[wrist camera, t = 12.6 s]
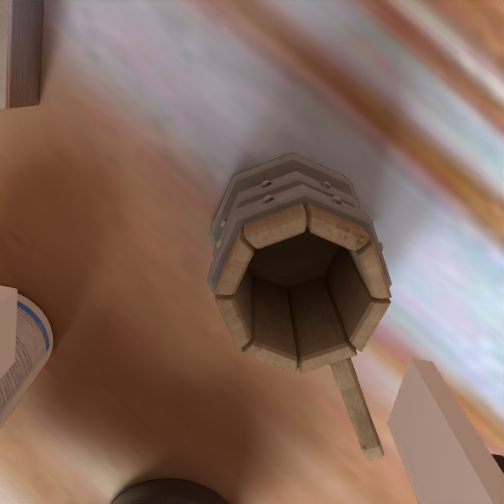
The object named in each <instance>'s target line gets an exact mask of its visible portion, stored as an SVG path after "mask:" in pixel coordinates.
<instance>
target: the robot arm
mask: <svg viewBox="0 0 504 504" xmlns="http://www.w3.org/2000/svg"><path fill="white" fill-rule="evenodd" d="M17 291H18V289H16V288H10V287H5V286H0V379H1V378H2V377H3V375H4V374H5V373H6V372H7V371H8V369H9V368H10V367H11V366H12V365H13V363H14V362H15V347H16V319H17ZM387 424H388V427H389V429H390V432H391V434H392V437H393V439H394V442H395V444H396V447H397V450H398V452H399V455H400V457H401V460H402V462H403V465H404V467H405V470H406V473H407V475H408V478H409V480H410V483H411V485H412V488H413V490H414V493H415V496H416V498H417V501H418V503H419V504H504V457H503V456H501V455H495V454H491V453H490V452H489V450H488V448H487V447H486V445H485V444H484V442H483V440H482V439H481V437H480V436H479V434H478V433H477V431H476V429H475V428H474V426H473V425H472V423H471V422H470V420H469V418H468V417H467V415H466V414H465V412H464V411H463V409H462V407H461V406H460V404H459V403H458V401H457V400H456V398H455V396H454V395H453V393H452V392H451V390H450V389H449V387H448V385H447V384H446V382H445V381H444V379H443V378H442V376H441V374H440V373H439V371H438V370H437V368H436V366H435V365H434V363H433V362H432V361H426V360H421V359H415V358H410V361H409V364H408V367H407V370H406V372H405V375H404V378H403V381H402V384H401V386H400V389H399V392H398V395H397V398H396V400H395V403H394V406H393V409H392V412H391V414H390V417H389V420H388V423H387ZM112 504H227V503H226V502H225V501H224V500H223V499H222V498H221V497H219V496H218V495H217V494H215V493H214V492H212V491H211V490H209V489H207V488H205V487H203V486H200V485H198V484H195V483H191V482H187V481H182V480H172V479H163V480H153V481H148V482H144V483H141V484H138V485H136V486H134V487H131V488H130V489H128V490H126V491H125V492H123V493H122V494H121V495H119V496H118V497H117V498H116V499H115V500H114V501H113V503H112Z"/></svg>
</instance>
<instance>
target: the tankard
mask: <svg viewBox="0 0 504 504" xmlns="http://www.w3.org/2000/svg"><path fill="white" fill-rule="evenodd" d="M209 236H210V238H211V241H212V243H213V245H214V252H213V256H214V260H213V262H212V265H211V267H210V270H209V274H208V278H207V281H208V283H209V285H210V287H211V290H212V292H213V294H214V296H215V300H216V302H217V306H218V307H219V309H220V311H221V313H222V316H223V318H224V320H225V322H226V324H227V327H228V329H229V331H230V333H231V335H232V337H233V340H234V342H235V344H236V346H237V348H238V349H240V348H242V353H244V354H247V355H249V356H252V357H254V358H257V359H260V360H262V361H265V362H268V363H270V364H273V365H275V366H278V367H281V368H283V369H286V370H288V371H291V372H294V373H296V371H297V368H298V367H299V370H300V372H301V373H304V372H307V371H310V370H313V369H316V368H319V367H322V366H325V365H328V364H330V366H331V368H332V371H333V374H334V376H335V379H336V381H337V384H338V386H339V389H340V391H341V394H342V397H343V400H344V402H345V405H346V408H347V411H348V413H349V416H350V419H351V422H352V424H353V427H354V430H355V433H356V435H357V438H358V441H359V444H360V447H361V449H362V451H363V453H364V455H365V457H366V459H368V460H370V461H371V460H374V459H377V458H381V457H383V455H384V451H383V448H382V445H381V442H380V440H379V437H378V434H377V432H376V429H375V427H374V424H373V421H372V418H371V416H370V413H369V410H368V407H367V405H366V402H365V399H364V396H363V393H362V390H361V387H360V384H359V381H358V378H357V375H356V372H355V369H354V366H353V363H352V361H351V358H350V357H353V356H356V355H357V352H356V349H358V350H359V351H361V352H362V350H363V348H364V347H365V345H366V343H367V342H368V340H369V338H370V337H371V335H372V333H373V332H374V330H375V328H376V327H377V325H378V323H379V322H380V320H381V318H382V317H383V315H384V313H385V312H386V310H387V308H388V307H389V305H390V303H391V301H390V300H389V298H391V297H392V296H391V293H390V290H389V288H390V286H391V284H392V283H391V280H390V277H389V274H388V270H387V267H386V264H385V261H384V258H383V255H382V250H383V245H382V243H380V242H378V239H377V236H376V232H375V229H374V226H373V223H372V220H371V219H370V218H369V217H368V215H367V214H366V213H365V212H363V211H361V210H360V207H359V204H358V201H357V198H356V195H355V192H354V189H353V186H352V183H351V181H350V180H349V178H347V177H345V176H342V175H340V174H338V173H336V172H334V171H331V170H329V169H327V168H325V167H322V166H320V165H318V164H316V163H314V162H311V161H309V160H307V159H305V158H302V157H300V156H298V155H296V154H294V153H290V154H288V155H285V156H282V157H280V158H277V159H275V160H272V161H270V162H267V163H264V164H262V165H259V166H257V167H254V168H251V169H249V170H246V171H244V172H241V173H239V174H236V175H233V178H232V180H231V182H230V185H229V187H228V189H227V192H226V194H225V196H224V199H223V201H222V203H221V206H220V208H219V210H218V213H217V215H216V217H215V220H214V222H213V224H212V226H211V229H210V232H209Z"/></svg>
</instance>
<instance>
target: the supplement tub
mask: <svg viewBox="0 0 504 504" xmlns="http://www.w3.org/2000/svg"><path fill="white" fill-rule="evenodd" d="M52 347H53V335H52V330H51V327H50V324H49V322H48V320H47V318H46V316H45V315H44V313H43V312H42V311H41V309H40V308H39V307H38V306H37V305H36V304H34V303H33V302H32V301H30V300H29V299H27V298H26V297H24V296H22V295H20V294H17V319H16V347H15V362H14V363H13V365H12V366H11V367H10V368H9V369H8V371H7V372H6V373H5V374H4V375H3V377H2V378H1V379H0V428H1V427H2V425H3V424H4V423H5V421H6V420H7V418H8V417H9V415H10V414H11V413H12V411H13V410H14V408H15V407H16V405H17V404H18V403H19V401H20V400H21V398H22V397H23V395H24V394H25V392H26V391H27V390H28V388H29V387H30V385H31V384H32V382H33V381H34V380H35V378H36V377H37V375H38V374H39V372H40V371H41V369H42V368H43V366H44V365H45V364H46V362H47V361H48V359H49V357H50V355H51V352H52Z"/></svg>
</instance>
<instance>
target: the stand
mask: <svg viewBox="0 0 504 504" xmlns="http://www.w3.org/2000/svg"><path fill="white" fill-rule="evenodd" d="M43 8H44V0H0V108H2V109H10V108H18V107H26V106H34V105H39V91H40V70H41V49H42V28H43Z"/></svg>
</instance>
